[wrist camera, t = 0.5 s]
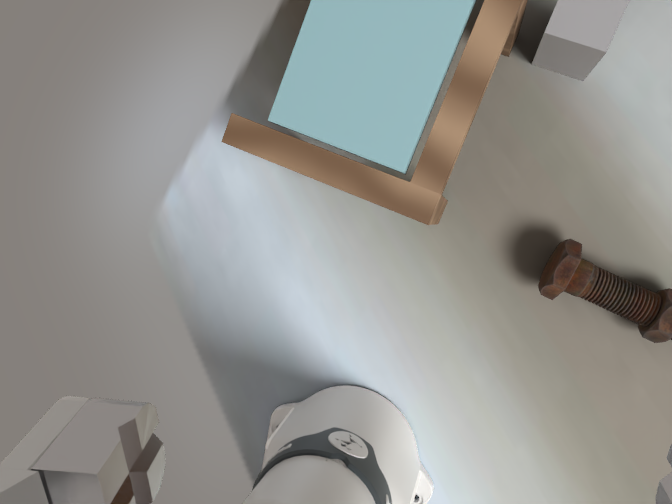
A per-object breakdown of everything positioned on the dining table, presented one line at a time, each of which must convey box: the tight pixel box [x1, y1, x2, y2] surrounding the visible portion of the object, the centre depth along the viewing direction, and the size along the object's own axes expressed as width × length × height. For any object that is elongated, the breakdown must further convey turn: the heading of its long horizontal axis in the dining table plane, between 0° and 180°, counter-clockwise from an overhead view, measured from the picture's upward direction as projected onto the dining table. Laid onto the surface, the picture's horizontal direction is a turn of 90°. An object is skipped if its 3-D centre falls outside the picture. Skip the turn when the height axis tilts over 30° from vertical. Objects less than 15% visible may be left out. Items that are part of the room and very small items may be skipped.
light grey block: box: [532, 0, 630, 81], centre depth 47 cm, size 5×5×9 cm
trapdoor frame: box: [222, 0, 527, 225], centre depth 49 cm, size 20×18×14 cm
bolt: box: [538, 239, 672, 343], centre depth 49 cm, size 6×5×15 cm
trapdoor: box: [268, 0, 476, 174], centre depth 42 cm, size 14×12×1 cm
